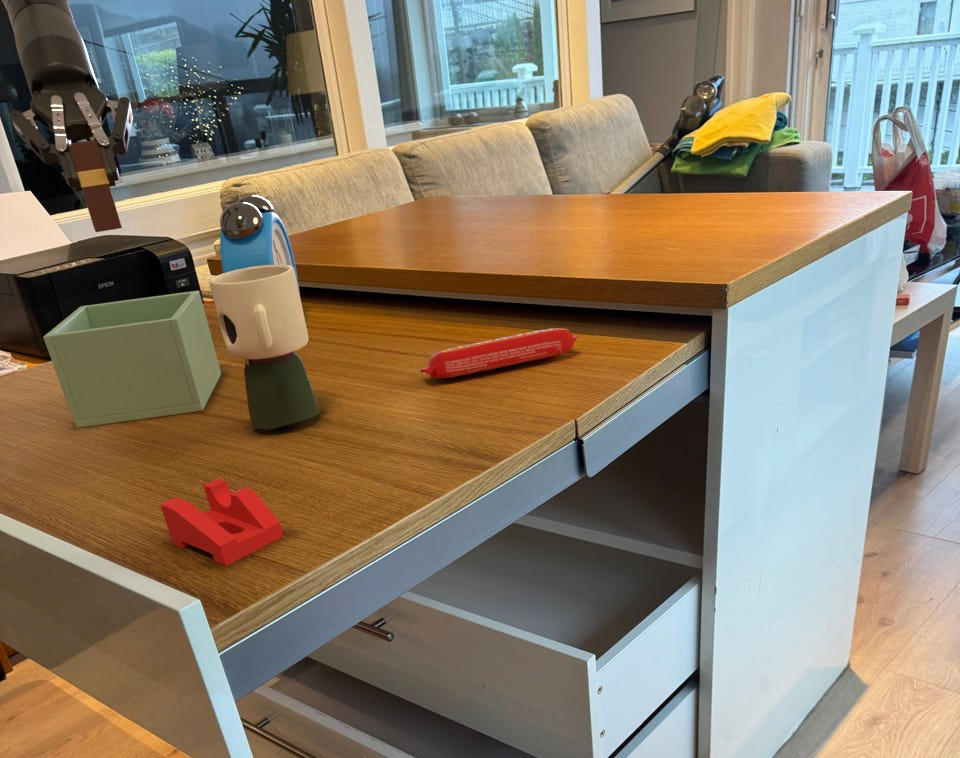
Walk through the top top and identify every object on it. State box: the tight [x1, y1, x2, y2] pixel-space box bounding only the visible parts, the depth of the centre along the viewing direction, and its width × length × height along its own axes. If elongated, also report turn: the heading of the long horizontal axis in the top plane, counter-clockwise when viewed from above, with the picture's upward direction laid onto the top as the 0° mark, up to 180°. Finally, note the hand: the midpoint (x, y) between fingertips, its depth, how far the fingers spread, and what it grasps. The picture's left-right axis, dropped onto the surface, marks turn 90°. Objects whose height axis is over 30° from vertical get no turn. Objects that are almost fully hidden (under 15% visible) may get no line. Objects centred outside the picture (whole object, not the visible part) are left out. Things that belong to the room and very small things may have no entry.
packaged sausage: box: [420, 327, 580, 379], centre depth 88 cm, size 16×4×3 cm, turn 109°
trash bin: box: [43, 290, 222, 429], centre depth 90 cm, size 12×12×9 cm
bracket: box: [159, 478, 284, 567], centre depth 62 cm, size 6×5×3 cm
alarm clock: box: [219, 194, 300, 291], centre depth 108 cm, size 13×6×15 cm, turn 0°
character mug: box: [208, 265, 320, 430], centre depth 78 cm, size 11×7×13 cm, turn 13°
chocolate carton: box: [68, 139, 123, 233], centre depth 104 cm, size 4×3×9 cm
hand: (94, 182), depth 102 cm, fingers closed on chocolate carton, 3 cm apart
